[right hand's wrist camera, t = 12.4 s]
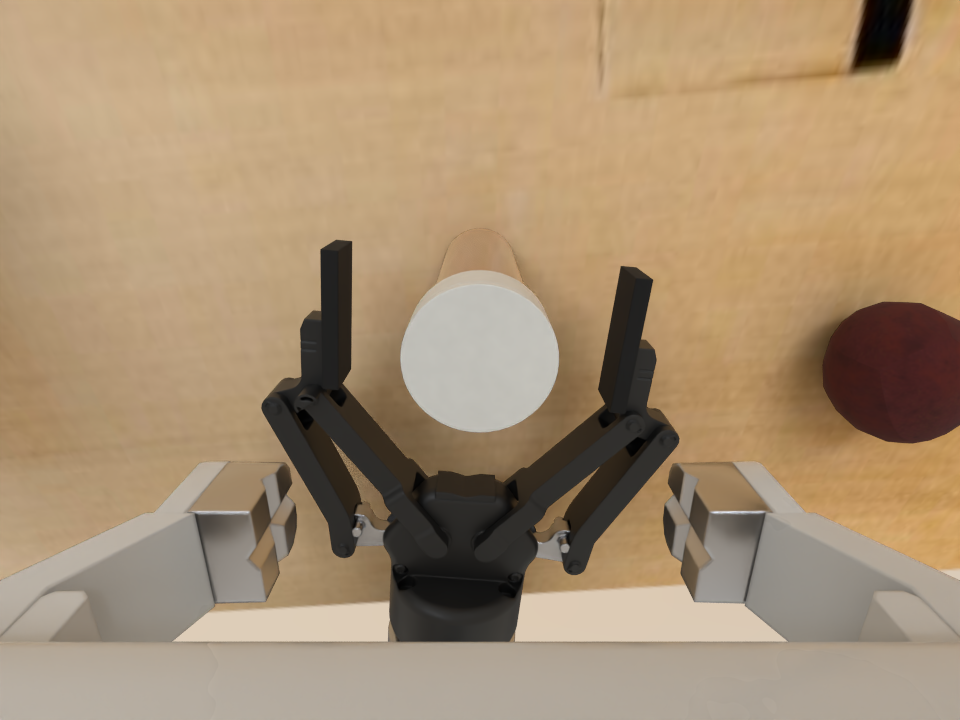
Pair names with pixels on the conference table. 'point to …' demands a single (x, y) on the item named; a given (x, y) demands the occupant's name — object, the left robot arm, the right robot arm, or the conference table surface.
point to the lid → (479, 352)
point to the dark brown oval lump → (896, 371)
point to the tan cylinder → (479, 255)
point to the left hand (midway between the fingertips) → (488, 257)
